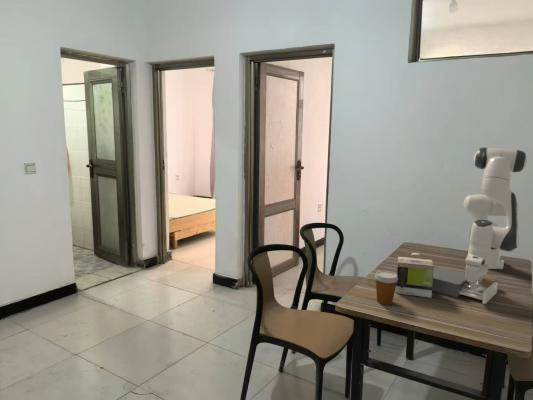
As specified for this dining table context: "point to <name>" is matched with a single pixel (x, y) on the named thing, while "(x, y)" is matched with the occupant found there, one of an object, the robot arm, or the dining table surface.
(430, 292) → the tea box
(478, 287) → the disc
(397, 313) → the dining table surface
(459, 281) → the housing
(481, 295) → the cream drawer
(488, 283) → the wooden block
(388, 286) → the disposable coffee cup
